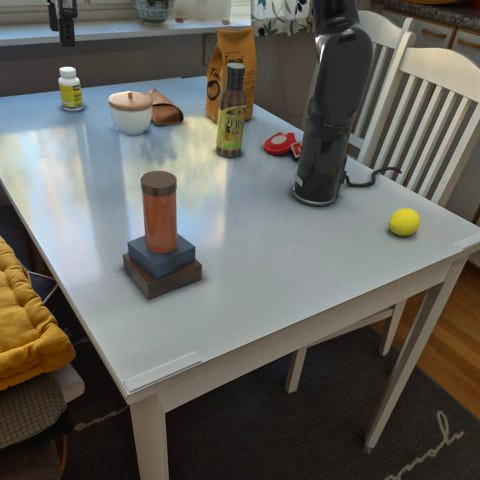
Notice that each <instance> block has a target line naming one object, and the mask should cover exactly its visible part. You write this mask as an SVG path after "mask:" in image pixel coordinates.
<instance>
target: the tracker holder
mask: <svg viewBox="0 0 480 480" xmlns="http://www.w3.org/2000/svg"><path fill="white" fill-rule="evenodd" d="M301 145H302V140H299V141H297V138H296V134H295V132H289V131H279V132H276V133H275V134H274V135H272V136H270V137H269V138H267V139H266V140H265V141H264V143H263V149H264V151H265V152H266V153H267V154H270V155H282V154H285V153H288V152H290V151H291V153H292V155H293V157H294V158H295V159H296V160H299V156H300V151H301Z"/></svg>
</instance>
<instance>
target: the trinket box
mask: <svg viewBox="0 0 480 480" xmlns="http://www.w3.org/2000/svg"><path fill="white" fill-rule="evenodd" d="M107 101H108V105H109V113H110V117H111V119H112V121H113V123H114V125H115V126H116V128H118V129H119V130H120V131H121V133H123V134H125V135H129V136H138V135H142V134H144V133H145V131H146V130H147V129H148V127H150V125H151V122H152V121H151V120H152V112H153V111H152V105H153V100H152V98H151V97H150V96H148V95H146V93H143V92H139V91H132V90H130V91H120V92H116V93H112V94H111V95H110V96H109V97H108V100H107Z"/></svg>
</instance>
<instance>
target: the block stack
mask: <svg viewBox="0 0 480 480" xmlns="http://www.w3.org/2000/svg"><path fill="white" fill-rule="evenodd" d="M127 251H128V252H125V253H122V261H123V262H122V263H123V269H124V271H125V272H126V274H127V275H128V276H129V277H130V278H131V279H132V281H133V282H134V283H135V284H136V286H137V287H138V288H139V289H140V290H141V292H142V293H143V294H144V295H145V296H146V298H147V299H148V300H151V299H153V298H156V297H159V296H161V295H164V294H167V293H170V292H172V291H175V290H178V289H181V288H183V287H186V286H188V285H191V284H193V283H196V282H199V281H201V280H202V279H203V277H202V276H203V264H202V263H201V262H200V261H199V260H198V259H197V258H196V246H195V245H194V244H193V243H191V242H190V241H189V240H187V239H186V238H185V237H183V236H182V235H180V234H179V233H178V232H177V247H176V248H175V249H174V250H173V251H171V252H168V253H155V252H152V251H150V250H149V249H148V248H147V247H146V241H145V234H144V235H142V236H140V237H137V238H135V239H132V240H130V241H127Z"/></svg>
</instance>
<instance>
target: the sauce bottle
mask: <svg viewBox="0 0 480 480" xmlns="http://www.w3.org/2000/svg"><path fill="white" fill-rule="evenodd" d="M226 71H227V80H226V88H225V89H224V91H223V92H222V93H221V95H220V105H219V112H218V123H217V127H216V128H217V129H216V141H215V145H216V148H215V151H216V153H217V154H218V155H220V156H222V157H226V158H235V157H238V156H239V155H240V154H241V149H242V144H243V137H244V127H245V121H244V118H245V110H246V97H245V95H244V92H243V90H242V89H243V76H244V73H245V66H244V65H242V64H239V63H229V64H227V70H226Z"/></svg>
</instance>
